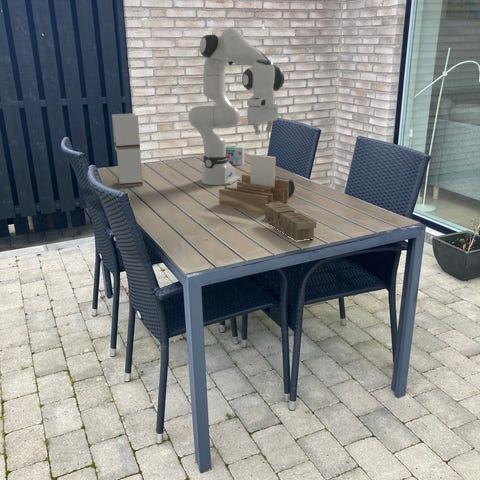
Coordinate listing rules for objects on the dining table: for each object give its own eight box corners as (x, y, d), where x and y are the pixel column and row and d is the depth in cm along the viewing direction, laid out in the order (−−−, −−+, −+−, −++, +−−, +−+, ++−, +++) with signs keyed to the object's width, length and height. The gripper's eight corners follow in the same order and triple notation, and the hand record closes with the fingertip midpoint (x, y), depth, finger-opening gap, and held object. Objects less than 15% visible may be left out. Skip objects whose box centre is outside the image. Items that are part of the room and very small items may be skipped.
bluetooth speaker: (246, 193, 253) (246, 173, 249) (258, 189, 259) (258, 169, 255) (282, 202, 238) (283, 180, 235) (295, 198, 244) (295, 177, 241)
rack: (243, 197, 245) (243, 173, 241) (288, 205, 233) (288, 180, 229) (218, 208, 229) (218, 182, 225) (265, 217, 217) (266, 190, 213)
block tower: (263, 223, 214) (296, 244, 188) (263, 203, 211) (297, 222, 185) (280, 220, 216) (315, 241, 191) (280, 201, 214) (316, 219, 188)
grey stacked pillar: (139, 180, 276) (134, 113, 263) (142, 185, 266) (137, 116, 254) (117, 182, 272) (111, 114, 260) (120, 187, 263) (114, 117, 251)
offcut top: (244, 188, 235) (244, 183, 235) (270, 193, 228) (270, 187, 227) (236, 191, 231) (236, 186, 230) (263, 196, 223) (263, 190, 222)
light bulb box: (225, 164, 312) (225, 146, 309) (227, 162, 319) (227, 144, 315) (242, 165, 311) (242, 147, 307) (244, 163, 317) (244, 145, 313)
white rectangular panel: (251, 197, 240) (252, 154, 233) (274, 201, 234) (275, 157, 227) (250, 198, 239) (250, 154, 232) (272, 202, 233) (273, 157, 226)
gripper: (269, 97, 231) (268, 129, 236) (244, 101, 215) (244, 135, 220) (281, 98, 228) (281, 130, 233) (257, 102, 212) (257, 136, 216)
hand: (263, 133), depth 226 cm, fingers open, 8 cm apart
